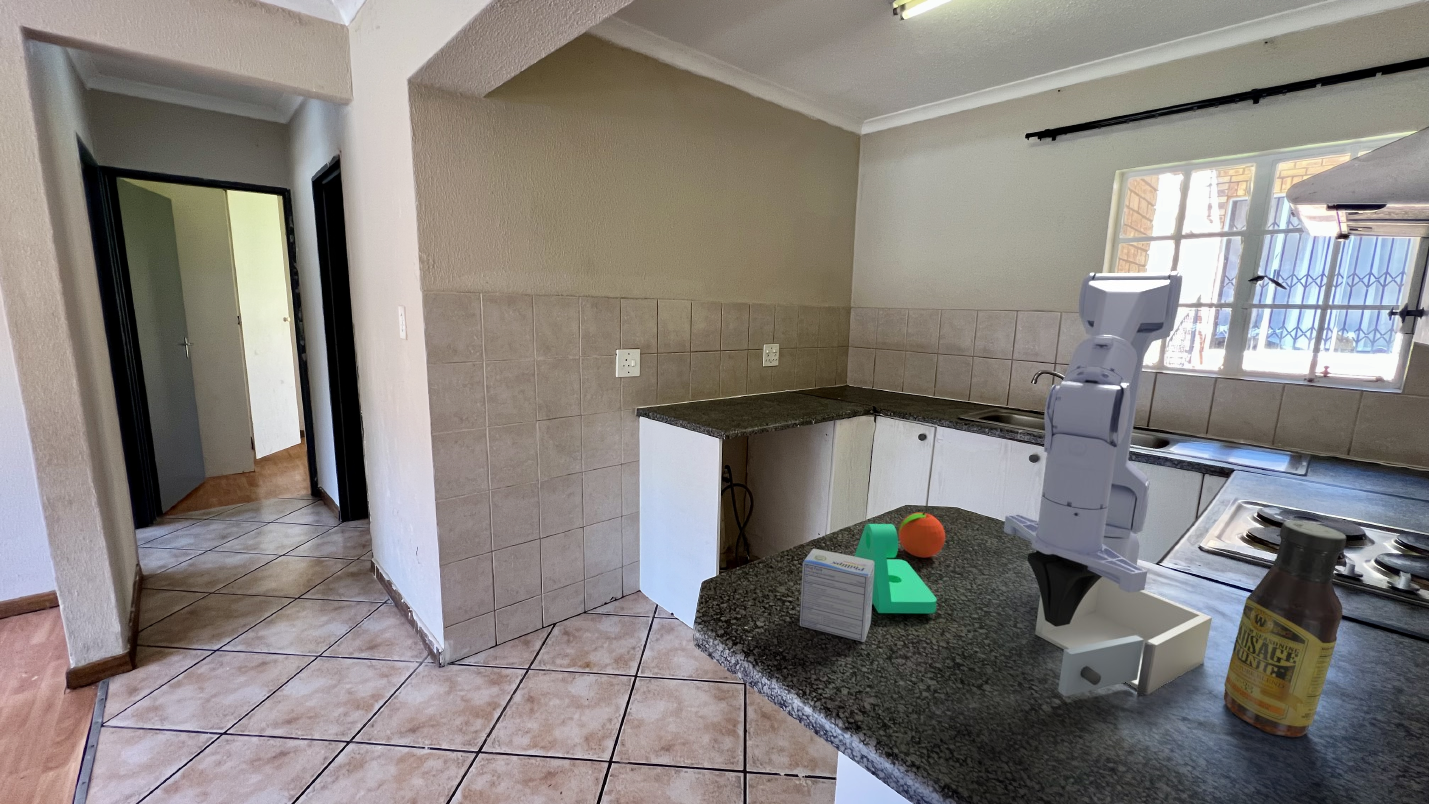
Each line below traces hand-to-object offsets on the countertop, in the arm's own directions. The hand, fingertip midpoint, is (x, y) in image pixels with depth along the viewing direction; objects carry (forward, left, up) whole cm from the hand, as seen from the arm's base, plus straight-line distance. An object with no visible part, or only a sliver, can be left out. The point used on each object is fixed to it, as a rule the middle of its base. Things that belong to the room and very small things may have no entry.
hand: (1057, 621), depth 59 cm
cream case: (-12, 0, -6) cm, 14 cm away
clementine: (-10, -28, -7) cm, 30 cm away
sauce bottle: (-13, +14, -7) cm, 20 cm away
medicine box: (+15, -18, -7) cm, 24 cm away
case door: (-1, +5, -5) cm, 7 cm away
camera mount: (+3, -20, -7) cm, 21 cm away
